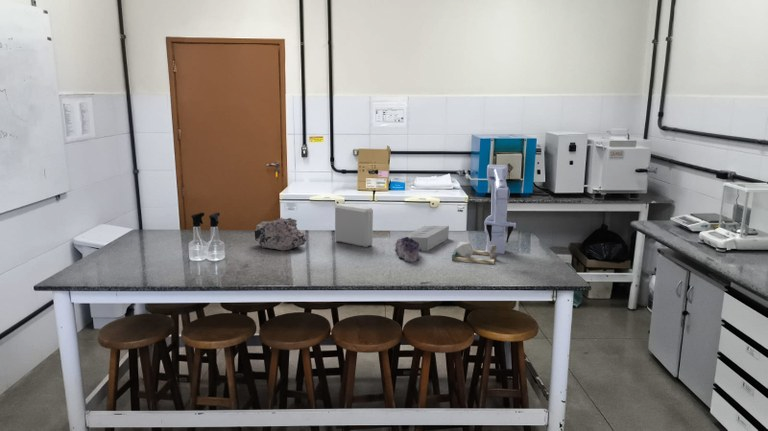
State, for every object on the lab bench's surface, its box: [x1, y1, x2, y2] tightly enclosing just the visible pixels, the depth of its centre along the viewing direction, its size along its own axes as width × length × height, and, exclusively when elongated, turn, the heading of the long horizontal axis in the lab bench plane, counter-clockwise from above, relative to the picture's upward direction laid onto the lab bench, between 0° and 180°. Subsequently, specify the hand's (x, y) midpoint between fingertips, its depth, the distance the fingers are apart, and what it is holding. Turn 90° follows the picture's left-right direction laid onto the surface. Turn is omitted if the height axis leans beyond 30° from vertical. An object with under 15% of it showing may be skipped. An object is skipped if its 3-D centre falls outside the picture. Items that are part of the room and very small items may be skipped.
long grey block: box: [400, 225, 450, 252], centre depth 298 cm, size 30×14×8 cm, turn 153°
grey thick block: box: [334, 203, 374, 248], centre depth 293 cm, size 21×8×20 cm, turn 58°
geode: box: [394, 237, 420, 264], centre depth 272 cm, size 20×12×10 cm, turn 10°
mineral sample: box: [254, 217, 307, 251], centre depth 286 cm, size 27×19×15 cm
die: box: [454, 241, 474, 258], centre depth 271 cm, size 8×9×10 cm
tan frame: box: [451, 245, 497, 265], centre depth 272 cm, size 20×16×7 cm
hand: (498, 241), depth 264 cm, fingers open, 7 cm apart
